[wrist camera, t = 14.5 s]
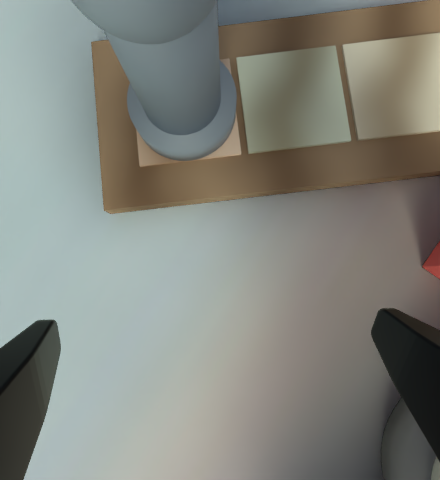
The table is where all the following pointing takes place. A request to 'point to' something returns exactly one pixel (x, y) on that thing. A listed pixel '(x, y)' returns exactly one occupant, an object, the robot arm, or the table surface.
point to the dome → (436, 470)
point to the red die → (433, 262)
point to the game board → (292, 111)
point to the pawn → (171, 72)
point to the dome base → (405, 448)
